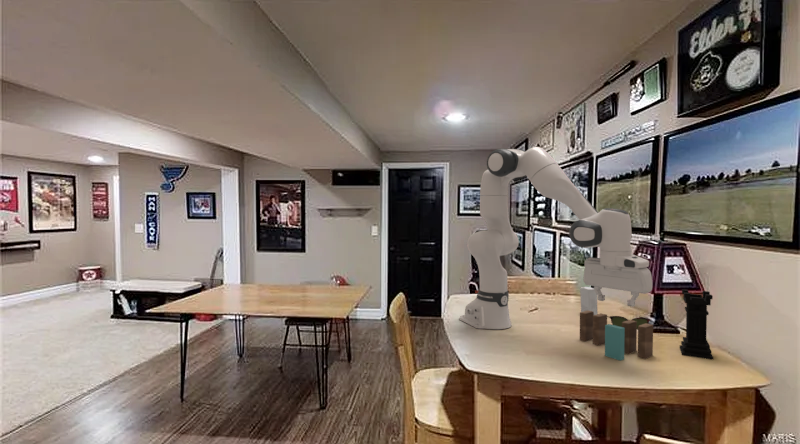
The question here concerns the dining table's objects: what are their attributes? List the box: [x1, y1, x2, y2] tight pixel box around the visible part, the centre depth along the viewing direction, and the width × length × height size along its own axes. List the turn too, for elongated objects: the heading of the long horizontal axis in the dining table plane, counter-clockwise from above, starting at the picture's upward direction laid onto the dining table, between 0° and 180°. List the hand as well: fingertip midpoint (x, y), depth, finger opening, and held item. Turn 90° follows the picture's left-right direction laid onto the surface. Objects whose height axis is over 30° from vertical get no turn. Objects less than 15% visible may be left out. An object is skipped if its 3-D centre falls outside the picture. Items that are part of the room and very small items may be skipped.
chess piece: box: [679, 289, 714, 360], centre depth 129 cm, size 8×8×20 cm
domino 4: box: [622, 319, 638, 355], centre depth 132 cm, size 2×5×10 cm, turn 123°
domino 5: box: [637, 323, 654, 360], centre depth 127 cm, size 2×5×10 cm, turn 123°
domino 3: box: [604, 323, 625, 361], centre depth 127 cm, size 2×5×10 cm, turn 33°
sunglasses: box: [607, 315, 651, 330], centre depth 163 cm, size 14×15×5 cm
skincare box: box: [579, 286, 599, 315], centre depth 176 cm, size 6×4×12 cm
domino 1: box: [579, 310, 594, 342], centre depth 144 cm, size 2×5×10 cm, turn 123°
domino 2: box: [592, 313, 608, 346], centre depth 140 cm, size 2×5×10 cm, turn 123°
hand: (615, 303), depth 126 cm, fingers open, 8 cm apart
